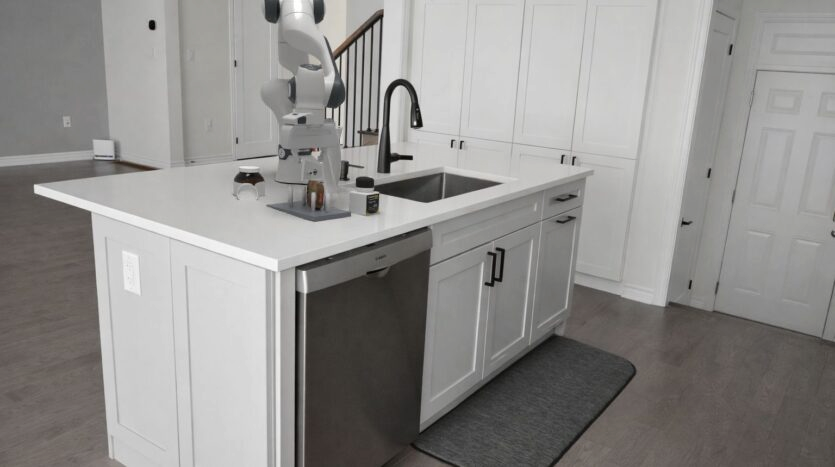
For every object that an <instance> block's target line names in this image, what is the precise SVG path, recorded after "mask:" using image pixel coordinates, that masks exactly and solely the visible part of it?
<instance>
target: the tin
mask: <svg viewBox="0 0 835 467" xmlns="http://www.w3.org/2000/svg"><path fill="white" fill-rule="evenodd" d="M306 185H307V186H306V201H307V204H308V205H309V206H310V207H311V197H312V192H315V209H321V208H322V206H323V205H324V183H322V182H318V181H314V180H309V182H308V184H306Z"/></svg>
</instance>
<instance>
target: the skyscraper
mask: <svg viewBox="0 0 835 467" xmlns="http://www.w3.org/2000/svg"><path fill="white" fill-rule="evenodd" d="M327 122H328V121H327ZM335 128H336V134H337V144H336V146H335V147H328V151H327V153H326V155H325V160H324V162H321V164H322V174H323V182H322V184H323V186H324V191H328V193H329V194H335V195H336V194H339V191H338V190H339V189H338V188H339V184H340V178H341V172H342V171H341V170H342V151H341V150H342V149H341V144H340V140H341V138H342V133H343V126H342V125H338V126H337V125H336V127H335Z"/></svg>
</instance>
